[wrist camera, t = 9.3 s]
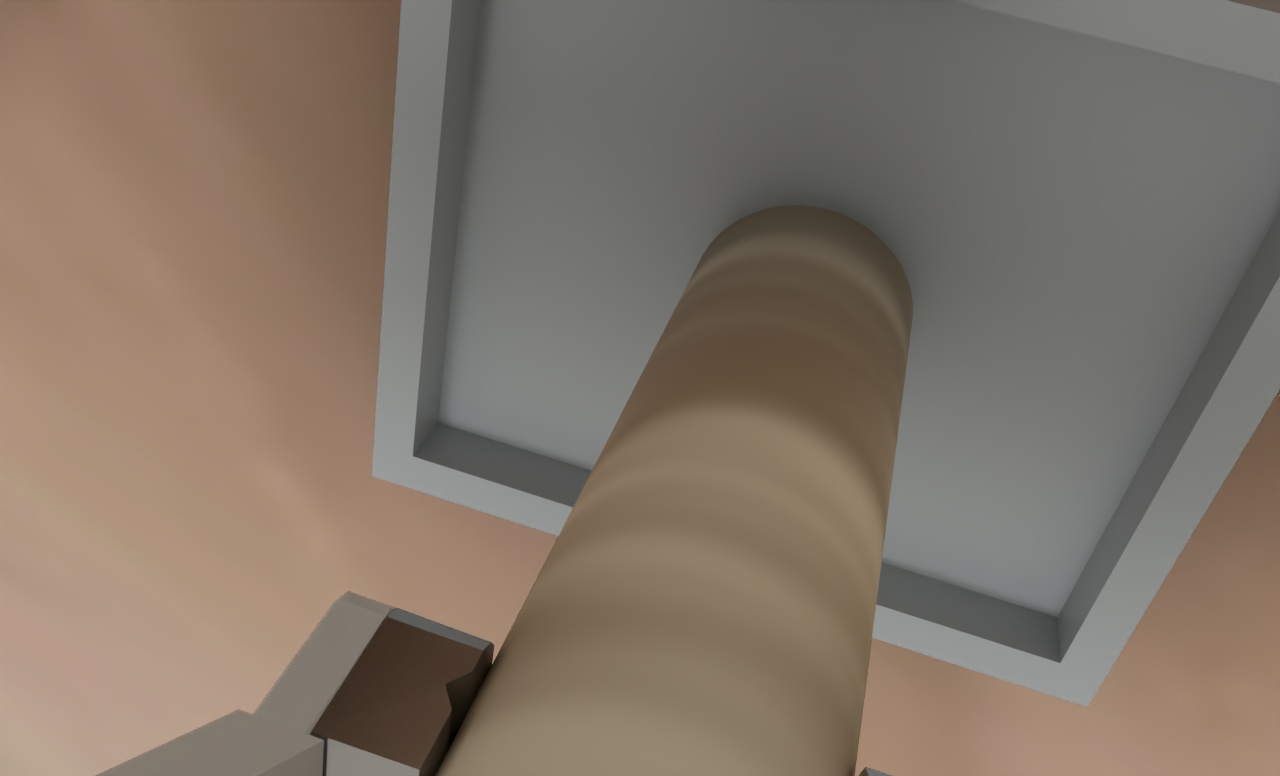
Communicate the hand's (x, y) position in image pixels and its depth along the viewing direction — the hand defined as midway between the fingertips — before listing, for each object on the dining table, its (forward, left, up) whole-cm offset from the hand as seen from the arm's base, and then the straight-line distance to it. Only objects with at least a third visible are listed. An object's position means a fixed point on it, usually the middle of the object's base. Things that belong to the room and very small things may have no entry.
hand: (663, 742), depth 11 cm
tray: (0, 0, -11) cm, 11 cm away
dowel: (0, 0, -9) cm, 9 cm away
